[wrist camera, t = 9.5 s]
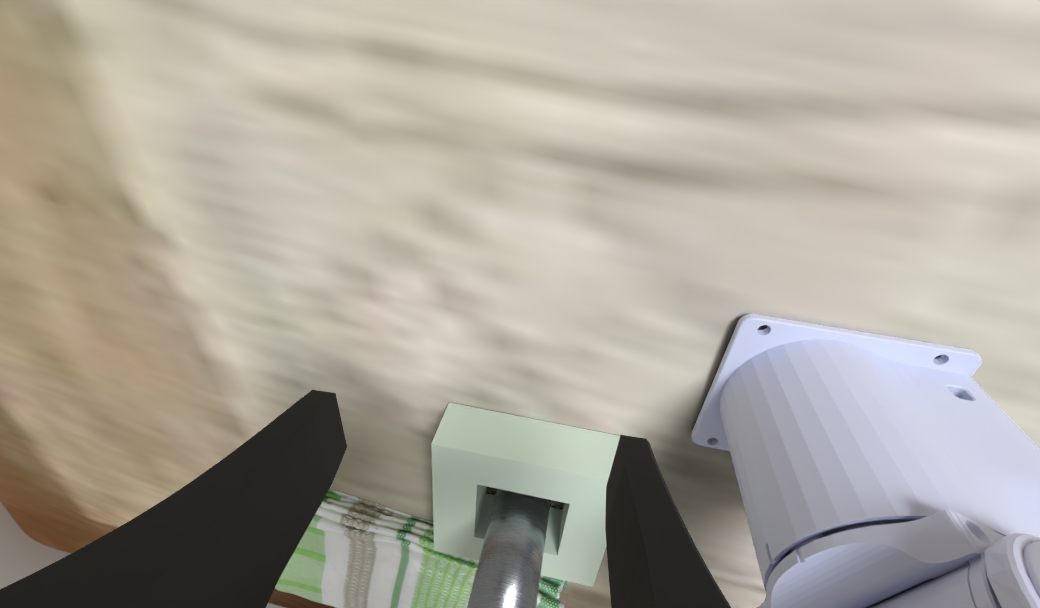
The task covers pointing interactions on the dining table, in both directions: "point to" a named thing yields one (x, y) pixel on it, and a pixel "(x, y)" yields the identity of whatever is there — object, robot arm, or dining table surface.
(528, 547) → the peg
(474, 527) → the socket
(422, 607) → the dish towel
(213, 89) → the dining table surface
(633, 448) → the robot arm
